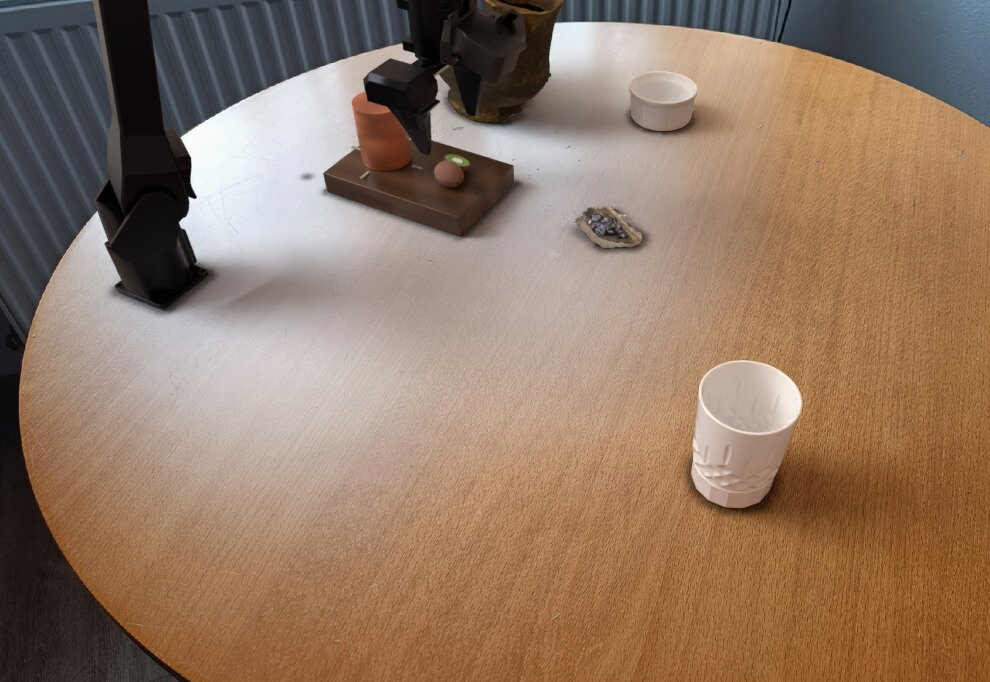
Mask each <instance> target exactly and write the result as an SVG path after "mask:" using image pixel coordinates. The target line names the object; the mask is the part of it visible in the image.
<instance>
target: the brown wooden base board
mask: <svg viewBox="0 0 990 682" xmlns="http://www.w3.org/2000/svg"><path fill="white" fill-rule="evenodd" d="M408 136H409V135H408ZM409 143H410V150H411V160H410V162H409V163H408V164H407V165H405V166H404V167H402V168H399V169H396V170H392V171H377V170H373V169H370V168H368V167H366V166H365V165H364V163H363V162H362V157H361V151H360V146H359V145H358V146H355V145H352V146H350V148H351V149H352V150H351V151H350V152H348V153H347V154H346V155H344V156H343V157H342V158H341V159H340V160H338V161H337V162H335V163H334V164H333V165H332V166H330V167H329V168H328V169H326V170H325V171H324V172H323V173H322V175H323V180H324V183H325V189H326V192H327V193H330V194H333V195H336V196H339V197H342V198H345V199H348V200H351V201H354V202H356V203H360V204H363V205H365V206H368V207H371V208H374V209H377V210H381V211H383V212H387V213H389V214H392V215H395V216H398V217H401V218H404V219H407V220H410V221H413V222H416V223H419V224H422V225H425V226H427V227H428V226H429V227H431V228H434V229H436V230H440V231H443V232H446V233H449V234H452V235H454V236H458V237H462V236H463V235H464V234H465V233H466V232H467V231H468V230H469V229H470V228H471V227H472V226H473V225H474V224H475V223H476V222H477V221H478V220H479V219H480V218H481V217H483V215H484V214H485V213H486V212H487V211H488V210H489V209H490V208H491V207H492V206H493V205H495V204H496V202H498V201H499V200H500V199H501V198H502V196H503V195H505V193H507V192H508V191H509V189H511V188H512V187H513V186H514V185H515V166H514V164H511V163H508V162H504V161H502V160H498V159H495V158H492V157H488V156H485V155H481V154H479V153H475V152H471V151H469V150H465V149H463V148H458V147H456V146H452V145H449V144H445V143H442V142H439V141H436V140H432V139H431V153H430V154H429V155H426V154H422V153H421V152H420V151H419V150H418V148H417V147H416V145H415V144H414V142H413V141H412V139H411V138H410V136H409ZM446 154H455V155H459V156H461V157H463V158H465V159H467V160H468V161H469V162H470V166H469V168H468V169H467V170H466V171H463V174H464V178H463V181H462V183H461V184H460V185H458V186H456V187H446V186H443V185H442V184H440V183H439V182H438V181H437V179H436V178H435V174H434V169H435V167H436V165H437V164H438V163H440V162H442V161H445V160H444V156H445V155H446Z"/></svg>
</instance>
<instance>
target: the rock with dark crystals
mask: <svg viewBox="0 0 990 682" xmlns="http://www.w3.org/2000/svg"><path fill="white" fill-rule="evenodd" d="M626 217H627V213H624V214H622V212H621V211H620V209H618V208H616V207H614V208H613V207H612V206H604V207H603V206H602V207H600V208H599V207H598V206H597V207H593V206H589V207H587V208H586V210H584V211H583V212H582V217H581V216H579V217H576V218H573V219H574V223H575V224H576V223H577V227H578V228H579V230H581V231H582V232H583V233H586V235H585V236H586V237H588V238H589V240H590V241H591V242H592V243H595V244H597V245H599V246H600V248H602V249H607V248H608V249H615V248H634V247H638V246H639V245H641V242H642V241H643V235H642V233H641V232H639V230H637V229H636V227H634V226H633V227H632V226H630V225H629V224H628V223H631V222H632V220H628V219H627V218H626Z"/></svg>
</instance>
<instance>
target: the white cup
mask: <svg viewBox="0 0 990 682" xmlns="http://www.w3.org/2000/svg"><path fill="white" fill-rule="evenodd" d="M802 410H803V397H802V393H801V391H800V389H799V387H798V386H797V384H796V383H795V381H794V380H793V379H792V378H791V377H790V376H788V375H787V374H786V373H785V372H783V371H782V370H780V369H778V368H776V367H774V366H772V365H769V364H767V363H764V362H761V361H756V360H748V359H747V360H745V359H740V360H739V359H738V360H730V361H726V362H723V363H720V364H718V365H716V366H714V367H713V368H711V369H710V370H709V371H707V372H706V373H705V375H704V376H703V377H702V379H701V381H700V383H699V387H698V393H697V404H696V412H695V420H694V428H693V439H692V440H693V441H692V455H693V456H692V465H691V473H690V474H691V478H692V481H693V484H694V487H695V489H696V490H697V491H698V492H699V493H700V494H701V495H702V496H703V497H704V498H705V499H706V500H707V501H708V502H711V503H713V504H716V505H718V506H721V507H723V508H726V509H727V508H729V509H745V508H748V507H751V506H754V505H756V504H759V503H760V502H761V501H762V500H763V499H764V498H765V496H766V495H767V494H768V493H769V492H770V490H771V487H772V486H773V482H774V479H775V478H776V477H775V476H776V475H777V473H778V471H779V469H780V467H781V465H782V462H783V459H784V457H785V455H786V453H787V450H788V448H789V445H790V442H791V440H792V438H793V434H794V432H795V430H796V426H797V424H798V421H799V419H800V416H801V413H802V412H803V411H802ZM769 487H770V488H769Z"/></svg>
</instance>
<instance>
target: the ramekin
mask: <svg viewBox="0 0 990 682" xmlns="http://www.w3.org/2000/svg"><path fill="white" fill-rule="evenodd" d="M628 91H629V97H630V101H629V102H630V116H631V119H632V120H633V122H635V123H636V124H637V125H638V126H640V127H642V128H644V129H647V130H651V131H656V132H671V131H676V130H680V129H681V128H682V129H683V127H685V126H686V125H688V124H689V123H690V122H691V119H692V116H693V110H694V105H695V102H696V97H697V96H698V91H699V88H698V86H697V83H696V82H695V81H694V80H693V79H691V78H689V77H687V76H686V75H683V74H680V73H677V72H673V71H665V70H653V71H646V72H642V73H640V74H637V75H636V76H634V77H633V78H632V79H631V80H630V81H629V83H628Z"/></svg>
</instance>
